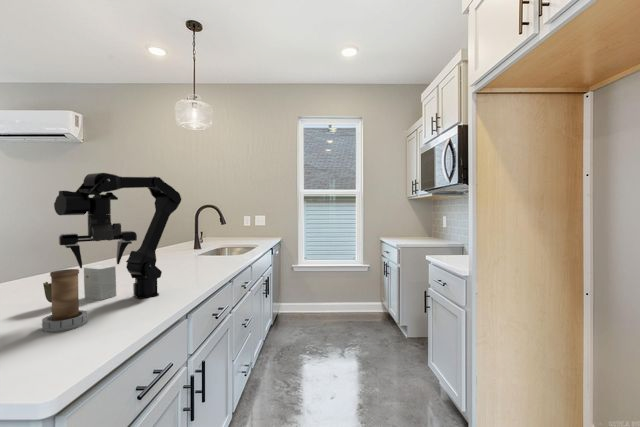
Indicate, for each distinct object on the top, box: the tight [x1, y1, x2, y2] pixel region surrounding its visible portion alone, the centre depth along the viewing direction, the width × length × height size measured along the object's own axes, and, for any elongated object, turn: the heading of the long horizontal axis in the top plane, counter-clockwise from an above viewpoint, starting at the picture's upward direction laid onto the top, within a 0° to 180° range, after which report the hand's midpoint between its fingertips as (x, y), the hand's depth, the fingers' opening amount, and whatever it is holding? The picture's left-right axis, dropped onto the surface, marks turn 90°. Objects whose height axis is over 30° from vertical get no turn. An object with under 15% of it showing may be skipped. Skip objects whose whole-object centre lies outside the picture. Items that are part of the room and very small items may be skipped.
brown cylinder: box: [49, 268, 80, 321], centre depth 81 cm, size 6×6×13 cm
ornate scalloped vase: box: [42, 281, 52, 304], centre depth 96 cm, size 8×7×8 cm
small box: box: [83, 264, 117, 301], centre depth 107 cm, size 8×6×10 cm
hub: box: [41, 309, 88, 333], centre depth 81 cm, size 9×9×2 cm
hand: (100, 266), depth 94 cm, fingers open, 9 cm apart
